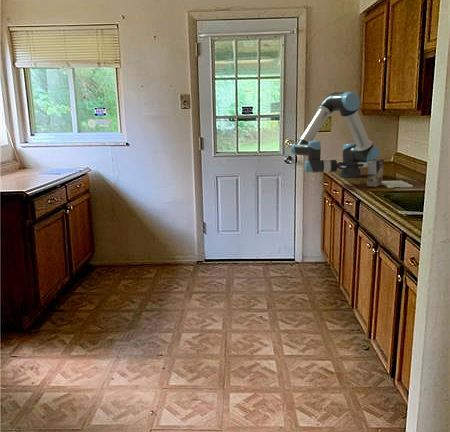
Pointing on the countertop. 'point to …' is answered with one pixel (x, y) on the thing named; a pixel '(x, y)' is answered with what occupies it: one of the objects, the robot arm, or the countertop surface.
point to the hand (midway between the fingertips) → (367, 164)
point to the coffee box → (375, 172)
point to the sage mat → (395, 184)
